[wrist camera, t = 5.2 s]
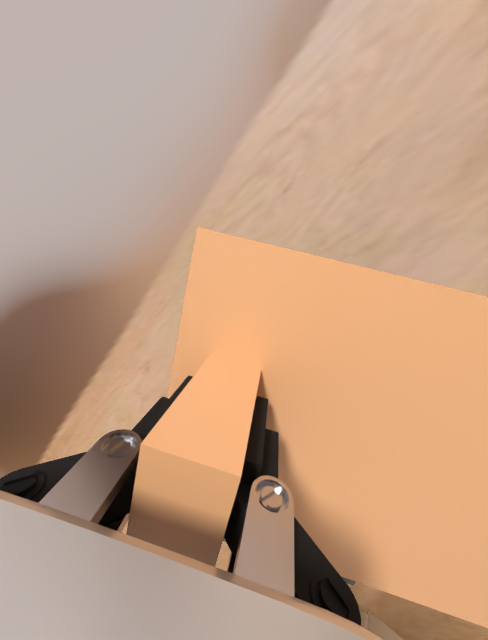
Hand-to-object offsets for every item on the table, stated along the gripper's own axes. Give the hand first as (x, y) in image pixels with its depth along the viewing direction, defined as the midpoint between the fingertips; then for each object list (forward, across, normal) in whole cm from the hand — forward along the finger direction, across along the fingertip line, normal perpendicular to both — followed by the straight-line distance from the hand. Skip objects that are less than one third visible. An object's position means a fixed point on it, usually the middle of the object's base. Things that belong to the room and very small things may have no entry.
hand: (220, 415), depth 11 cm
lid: (+3, -8, 0) cm, 9 cm away
